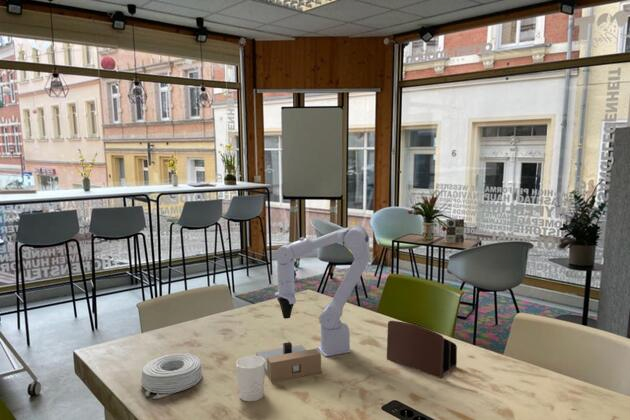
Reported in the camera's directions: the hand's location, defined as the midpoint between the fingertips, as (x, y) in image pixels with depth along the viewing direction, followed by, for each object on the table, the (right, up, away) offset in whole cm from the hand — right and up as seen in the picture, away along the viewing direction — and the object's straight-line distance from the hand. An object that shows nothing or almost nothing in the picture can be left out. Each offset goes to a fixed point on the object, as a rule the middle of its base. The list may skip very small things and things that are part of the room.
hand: (286, 317), depth 157 cm
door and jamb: (+1, -12, -12) cm, 17 cm away
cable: (-33, -14, -22) cm, 42 cm away
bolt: (+2, -11, -16) cm, 19 cm away
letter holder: (+44, -12, -12) cm, 47 cm away
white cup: (-8, -15, -30) cm, 35 cm away
